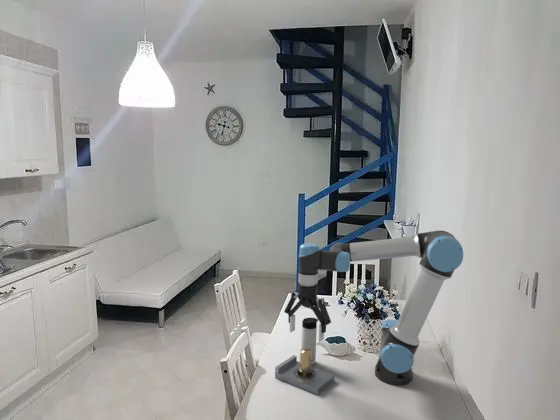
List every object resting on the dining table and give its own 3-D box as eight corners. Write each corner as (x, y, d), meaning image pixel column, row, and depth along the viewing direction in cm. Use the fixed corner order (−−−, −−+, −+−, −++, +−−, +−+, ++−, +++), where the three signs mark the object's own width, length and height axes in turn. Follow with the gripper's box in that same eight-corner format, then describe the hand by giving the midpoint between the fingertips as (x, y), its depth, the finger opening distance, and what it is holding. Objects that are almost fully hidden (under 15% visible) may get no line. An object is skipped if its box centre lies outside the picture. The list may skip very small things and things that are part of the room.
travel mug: (315, 367, 181) (316, 322, 178) (299, 365, 182) (301, 320, 180) (316, 360, 187) (318, 316, 185) (302, 358, 189) (303, 315, 186)
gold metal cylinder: (312, 378, 172) (313, 350, 170) (306, 383, 169) (307, 354, 167) (303, 375, 175) (304, 347, 173) (297, 379, 171) (298, 351, 170)
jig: (334, 380, 171) (335, 370, 170) (317, 395, 161) (318, 383, 160) (293, 365, 183) (293, 355, 182) (275, 377, 172) (275, 367, 172)
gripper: (341, 287, 162) (338, 340, 165) (287, 275, 177) (286, 324, 179) (331, 292, 156) (329, 347, 159) (276, 279, 171) (275, 330, 173)
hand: (306, 335), depth 169 cm, fingers open, 13 cm apart
